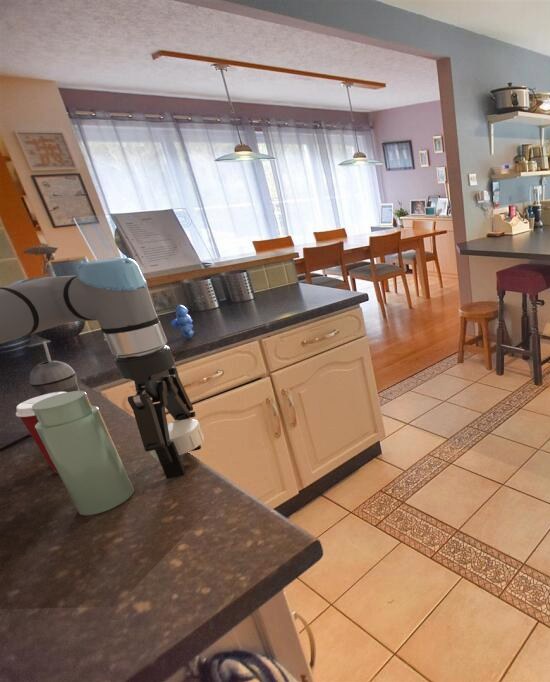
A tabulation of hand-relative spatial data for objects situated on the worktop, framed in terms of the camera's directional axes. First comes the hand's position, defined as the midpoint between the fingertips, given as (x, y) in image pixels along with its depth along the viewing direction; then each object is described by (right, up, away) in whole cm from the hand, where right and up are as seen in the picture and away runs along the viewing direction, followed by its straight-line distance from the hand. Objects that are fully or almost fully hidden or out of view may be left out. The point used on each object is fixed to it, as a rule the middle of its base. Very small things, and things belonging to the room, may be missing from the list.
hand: (184, 462), depth 82 cm
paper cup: (-23, -1, +2) cm, 23 cm away
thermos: (-6, -4, -9) cm, 12 cm away
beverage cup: (-39, +4, +18) cm, 43 cm away
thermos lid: (0, +3, -1) cm, 3 cm away
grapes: (-57, +24, +77) cm, 99 cm away
